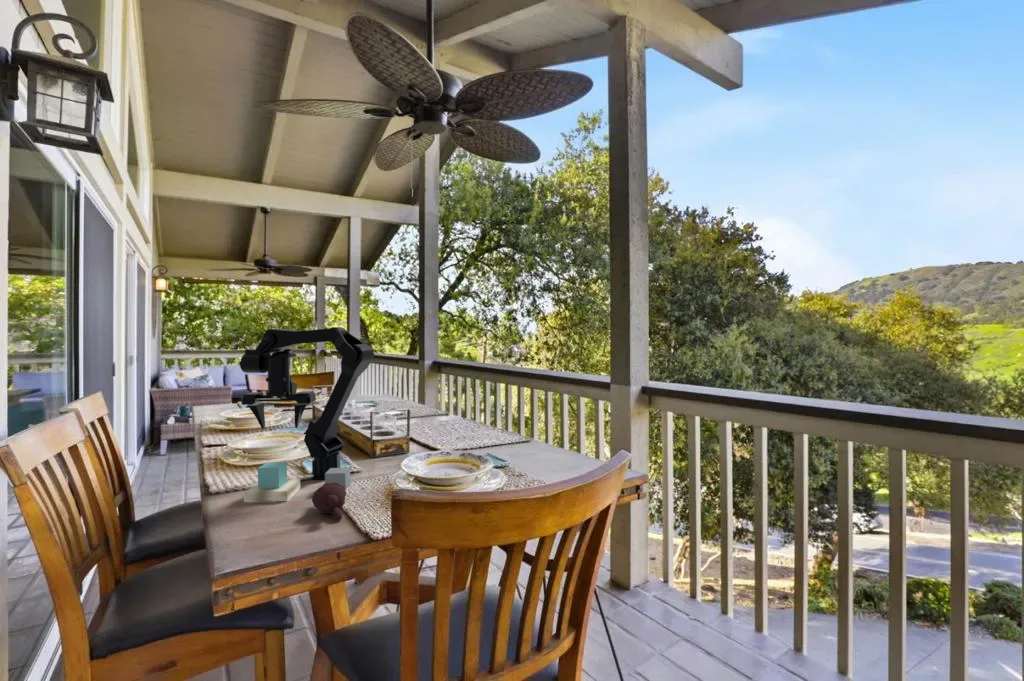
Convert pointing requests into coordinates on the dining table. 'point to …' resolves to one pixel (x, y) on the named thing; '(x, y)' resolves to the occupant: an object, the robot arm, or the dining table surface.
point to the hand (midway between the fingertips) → (280, 428)
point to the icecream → (330, 499)
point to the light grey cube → (338, 476)
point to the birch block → (272, 492)
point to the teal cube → (272, 475)
